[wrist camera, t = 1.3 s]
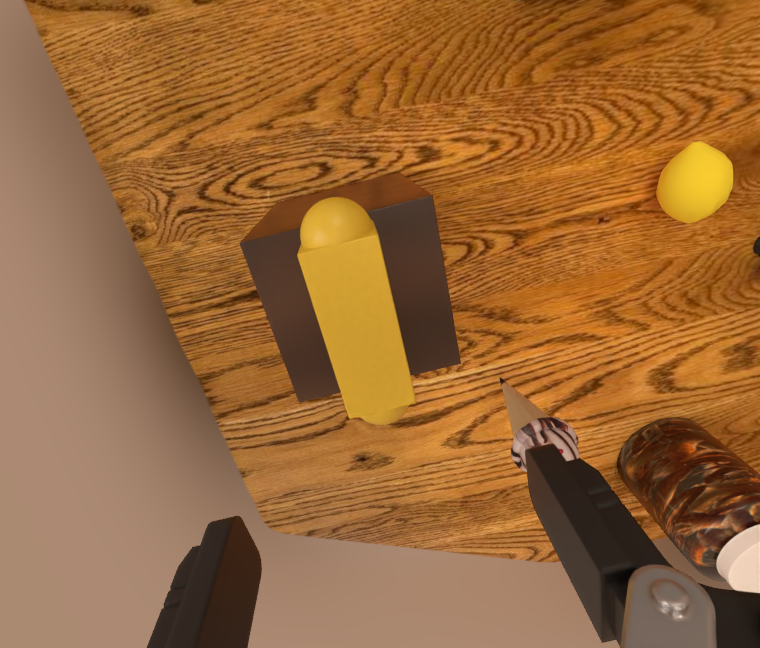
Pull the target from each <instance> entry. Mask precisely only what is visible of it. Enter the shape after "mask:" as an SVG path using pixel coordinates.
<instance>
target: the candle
mask: <svg viewBox="0 0 760 648" xmlns="http://www.w3.org/2000/svg"><path fill="white" fill-rule="evenodd" d="M754 252H755V254H758V255H759V256H760V237H759V238H758V239H757V241H756V242H755V244H754Z"/></svg>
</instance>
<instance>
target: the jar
mask: <svg viewBox="0 0 760 648" xmlns="http://www.w3.org/2000/svg"><path fill="white" fill-rule="evenodd" d="M617 467H618V472H619V475H620V477H621V479H622V480H623V482H624V483H625V484H626V486H627V487H628V488H629V489H630V491H631V492H632V493H633V494H634V496H635V497H636V498H637V499H638V501H639V502H640V503H641V504H642V506H643V507H644V508H645V509H646V510H647V512H648V513H649V514H650V515H651V517H652V518H653V519H654V520H655V522H656V523H657V524H658V525H659V526H660V528H661V529H662V530H663V531H664V533H665V534H666V535H667V536H668V537H669V539H670V540H671V541H672V542H673V543H674V545H675V546H676V547H677V548H678V549H679V550H680V552H681V553H682V554H683V555H684V556H685V557H686V559H687V560H688V561H689V562H690V563H691V564H692V565H693V566H694V567H695V568H696V569H697V570H698V571H699V572H700V573H702V574H703V575H705V576H706V577H708V578H710V579H713V580H717V581H725V582H728V583H729V584H730V586H731V587H732V588H734V589H735V590H736V591H745V592H755V593H760V474H759V473H758V472H756V471H755V470H754V469H753V468H752V467H750V466H749V465H748V464H747V463H745V462H744V461H743V460H742V459H741V458H739V457H738V456H737V455H736V454H734V453H733V452H732V451H731V450H730V449H728V448H727V447H726V446H725V445H723V444H722V443H721V442H720V441H719V440H717V439H716V438H715V437H714V436H712V435H711V434H710V433H709V432H707V431H706V430H705V429H704V428H702V427H701V426H700V425H698V424H697V423H695V422H693V421H691V420H688V419H683V418H669V419H663V420H659V421H656V422H654V423H651V424H649V425H647V426H645V427H644V428H642V429H640V430H639V431H638V432H636V433H635V434H634V435H633V436H632V437H631V438H630V439H629V440H628V441H627V442H626V444H625V445H624V447H623V448H622V450H621V452H620V455H619V458H618V465H617Z"/></svg>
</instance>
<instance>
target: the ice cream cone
mask: <svg viewBox="0 0 760 648" xmlns="http://www.w3.org/2000/svg"><path fill="white" fill-rule="evenodd" d="M500 382H501V386H502V390H503V394H504V398H505V402H506V407H507V411H508V415H509V419H510V423H511V428H512V432H513V436H514V440H513V445H512V448H511V456H512V459H513V461H514V463H515V464H516V465H517V466H518V467H519V468H520V469H521V470H523V471H525V472H527V469H526V460H525V450H526V449H529V448H534V447H538V446H542V445H546V444H551V443H553V444H555V445H556V447H557V448H558V450H559V451H560V452H561V454H562V455H563V457H564V458H565V460H566V461H570V460H574V459H578V458H579V451H578V448H577V446H578V437H577V435H576V434H575V432H574V430H573V428H572V427H571V426H570V425H568V424H567V423H566V422H565V421H563V420H561V419H560V418H556V417H549V416H548V415H547V414H546V413H544V412H543V411H542V410H541V409H539V408H538V407H537V406H536V405H534V404H533V403H532V402H531V401H529V400H528V399H527V398H525V397H524V396H523V395H522V394H520V393H519V392H518V391H517V390H515V389H514V388H513V387H512V386H510V385H509V384H508V383H507V382H505V381H504V380H503V379H502V378H500Z"/></svg>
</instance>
